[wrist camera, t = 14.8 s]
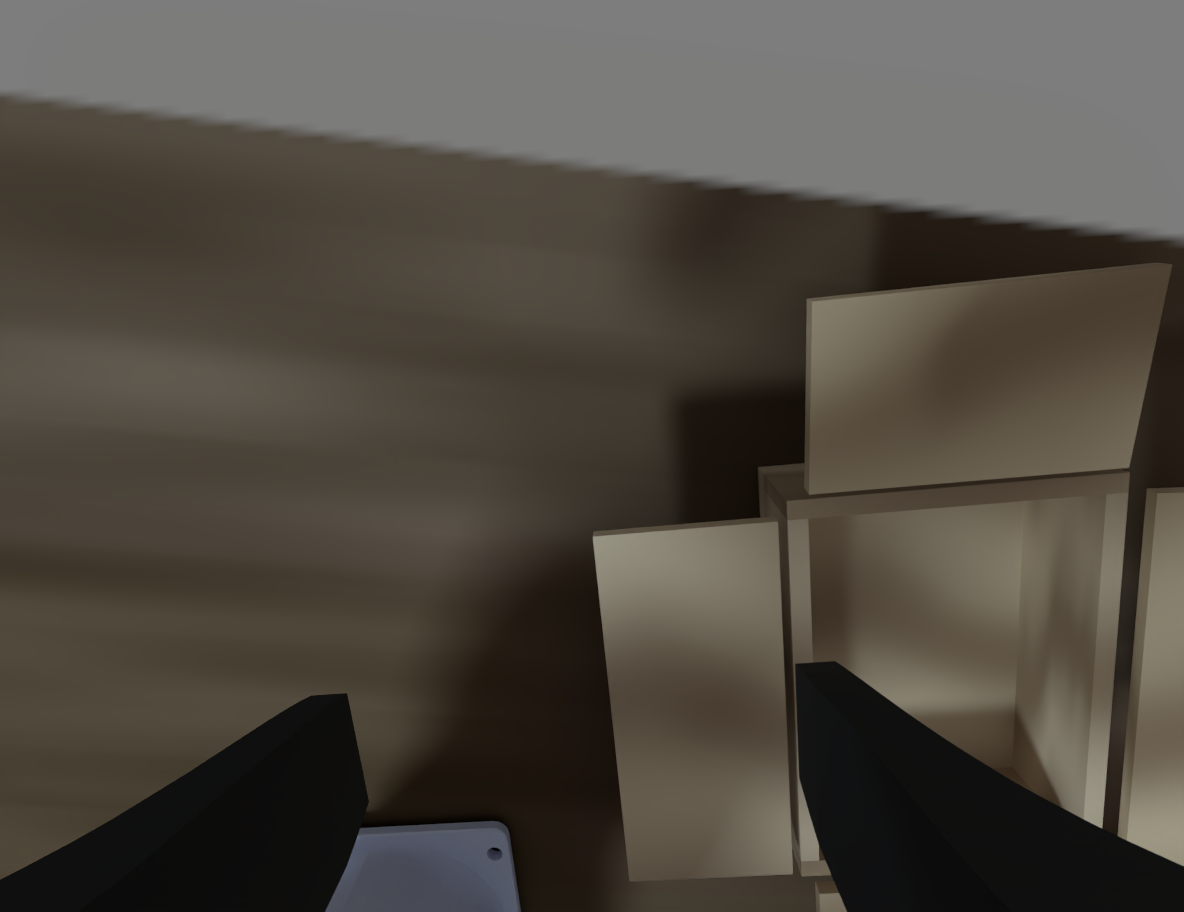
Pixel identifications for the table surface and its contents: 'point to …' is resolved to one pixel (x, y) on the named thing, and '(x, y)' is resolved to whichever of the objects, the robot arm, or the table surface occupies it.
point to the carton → (855, 651)
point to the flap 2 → (1157, 687)
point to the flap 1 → (979, 378)
